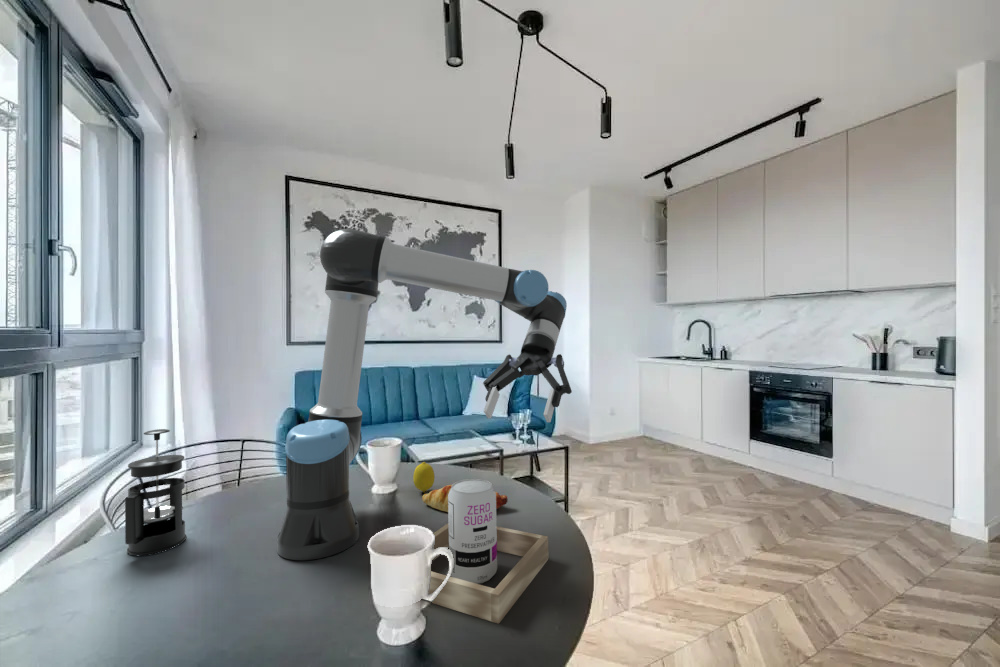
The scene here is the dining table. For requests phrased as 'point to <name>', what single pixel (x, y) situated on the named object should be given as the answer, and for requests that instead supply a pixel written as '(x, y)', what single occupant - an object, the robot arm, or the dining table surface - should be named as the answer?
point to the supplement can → (473, 530)
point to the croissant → (440, 498)
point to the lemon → (423, 477)
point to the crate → (503, 597)
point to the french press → (159, 521)
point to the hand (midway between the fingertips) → (515, 416)
